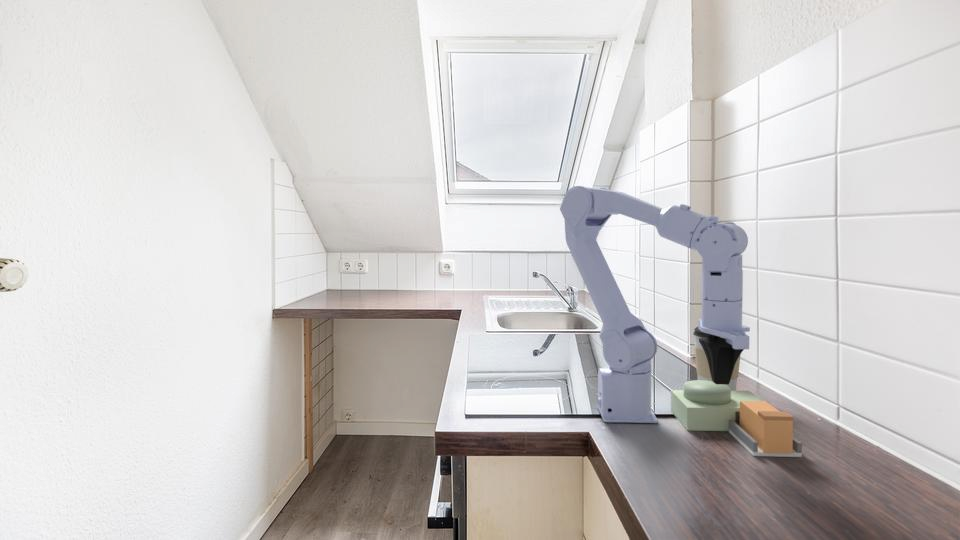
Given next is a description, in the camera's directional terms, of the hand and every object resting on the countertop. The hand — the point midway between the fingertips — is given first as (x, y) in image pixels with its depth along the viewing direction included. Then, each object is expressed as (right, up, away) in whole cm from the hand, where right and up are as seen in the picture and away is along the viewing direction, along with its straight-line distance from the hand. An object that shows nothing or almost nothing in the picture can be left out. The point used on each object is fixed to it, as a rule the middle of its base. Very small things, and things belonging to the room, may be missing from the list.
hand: (720, 383), depth 74 cm
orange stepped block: (+6, -9, -2) cm, 11 cm away
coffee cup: (+10, -8, +22) cm, 25 cm away
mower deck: (+4, -9, +4) cm, 10 cm away
